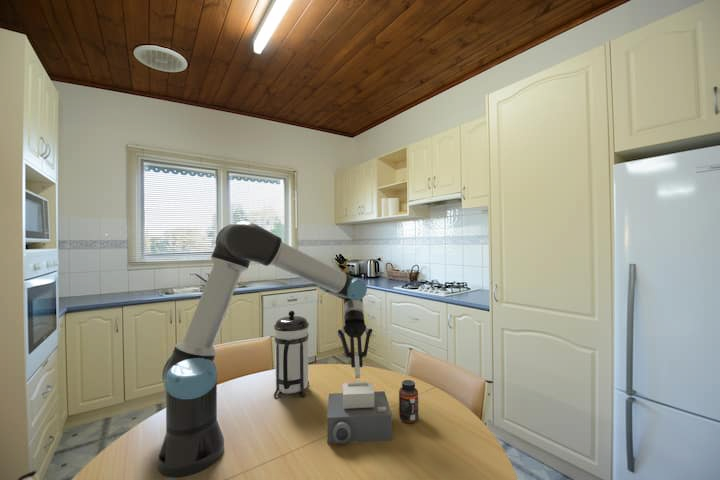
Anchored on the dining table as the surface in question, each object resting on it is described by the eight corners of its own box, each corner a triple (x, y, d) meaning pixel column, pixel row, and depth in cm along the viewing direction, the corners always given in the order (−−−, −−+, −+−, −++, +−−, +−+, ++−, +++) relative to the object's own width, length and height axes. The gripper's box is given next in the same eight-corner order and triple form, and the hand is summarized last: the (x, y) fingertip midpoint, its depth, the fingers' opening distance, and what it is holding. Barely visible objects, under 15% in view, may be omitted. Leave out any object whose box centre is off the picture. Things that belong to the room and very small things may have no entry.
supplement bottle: (418, 425, 94) (418, 387, 94) (398, 423, 95) (398, 386, 95) (418, 414, 100) (417, 378, 100) (399, 413, 101) (399, 377, 101)
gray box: (327, 448, 83) (326, 420, 84) (329, 415, 100) (328, 391, 100) (393, 445, 85) (393, 417, 85) (384, 412, 101) (384, 389, 101)
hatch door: (343, 408, 90) (343, 392, 90) (342, 396, 97) (342, 381, 97) (374, 407, 90) (374, 390, 90) (371, 395, 97) (371, 380, 97)
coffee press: (261, 391, 117) (261, 311, 117) (299, 378, 127) (298, 305, 128) (284, 409, 104) (283, 319, 104) (323, 393, 115) (323, 311, 115)
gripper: (370, 319, 123) (376, 380, 106) (337, 320, 122) (337, 382, 105) (371, 308, 117) (378, 370, 101) (336, 309, 116) (337, 372, 99)
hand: (357, 376), depth 103 cm, fingers closed
